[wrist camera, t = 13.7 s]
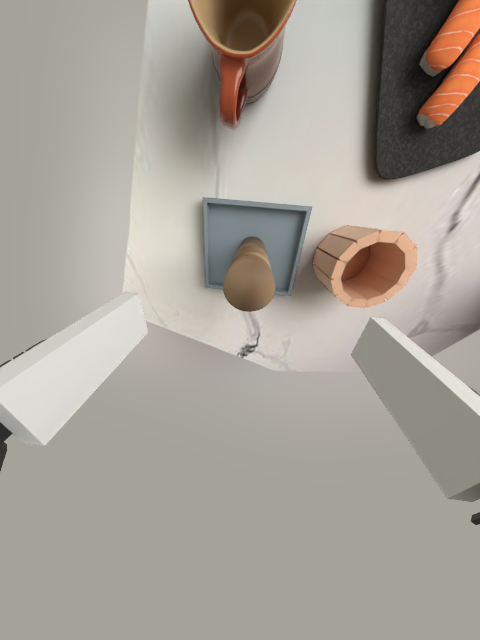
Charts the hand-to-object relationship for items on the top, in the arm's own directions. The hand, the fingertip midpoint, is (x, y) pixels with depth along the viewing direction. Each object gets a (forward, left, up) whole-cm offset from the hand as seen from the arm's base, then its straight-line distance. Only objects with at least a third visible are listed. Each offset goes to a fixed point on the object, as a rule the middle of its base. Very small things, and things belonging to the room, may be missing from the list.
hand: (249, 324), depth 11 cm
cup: (-16, 0, -25) cm, 29 cm away
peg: (0, 0, -24) cm, 24 cm away
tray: (0, 0, -25) cm, 25 cm away
